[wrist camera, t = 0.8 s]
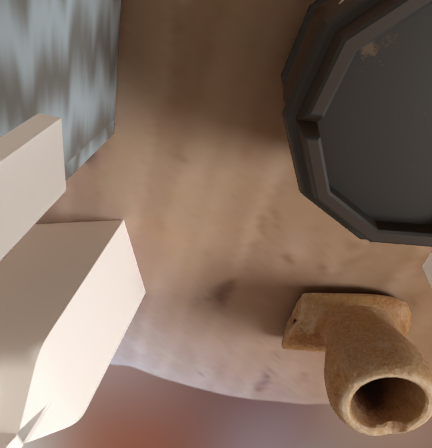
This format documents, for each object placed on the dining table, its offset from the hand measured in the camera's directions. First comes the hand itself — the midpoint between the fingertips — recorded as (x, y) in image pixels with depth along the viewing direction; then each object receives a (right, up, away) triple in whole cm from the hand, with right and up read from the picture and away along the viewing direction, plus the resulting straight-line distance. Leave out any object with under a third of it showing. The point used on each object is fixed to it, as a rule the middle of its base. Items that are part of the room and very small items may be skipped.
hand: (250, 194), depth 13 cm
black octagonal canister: (+14, +13, +22) cm, 29 cm away
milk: (-17, -6, +38) cm, 42 cm away
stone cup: (+15, -12, +37) cm, 42 cm away
